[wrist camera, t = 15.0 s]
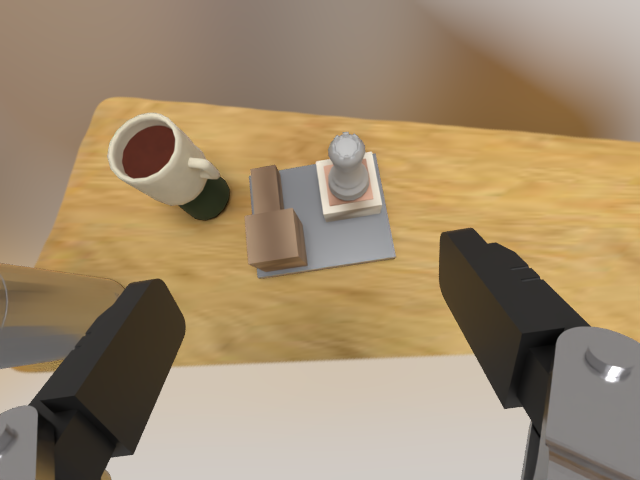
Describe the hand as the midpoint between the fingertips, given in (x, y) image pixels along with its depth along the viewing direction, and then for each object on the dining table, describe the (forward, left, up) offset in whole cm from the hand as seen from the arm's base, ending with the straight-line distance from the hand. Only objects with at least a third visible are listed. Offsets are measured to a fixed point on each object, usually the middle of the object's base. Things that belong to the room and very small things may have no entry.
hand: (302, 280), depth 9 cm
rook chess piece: (+3, +13, -23) cm, 27 cm away
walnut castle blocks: (-6, +11, -26) cm, 29 cm away
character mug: (-15, +16, -28) cm, 36 cm away
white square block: (+3, +13, -26) cm, 29 cm away
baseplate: (-1, +11, -28) cm, 30 cm away
